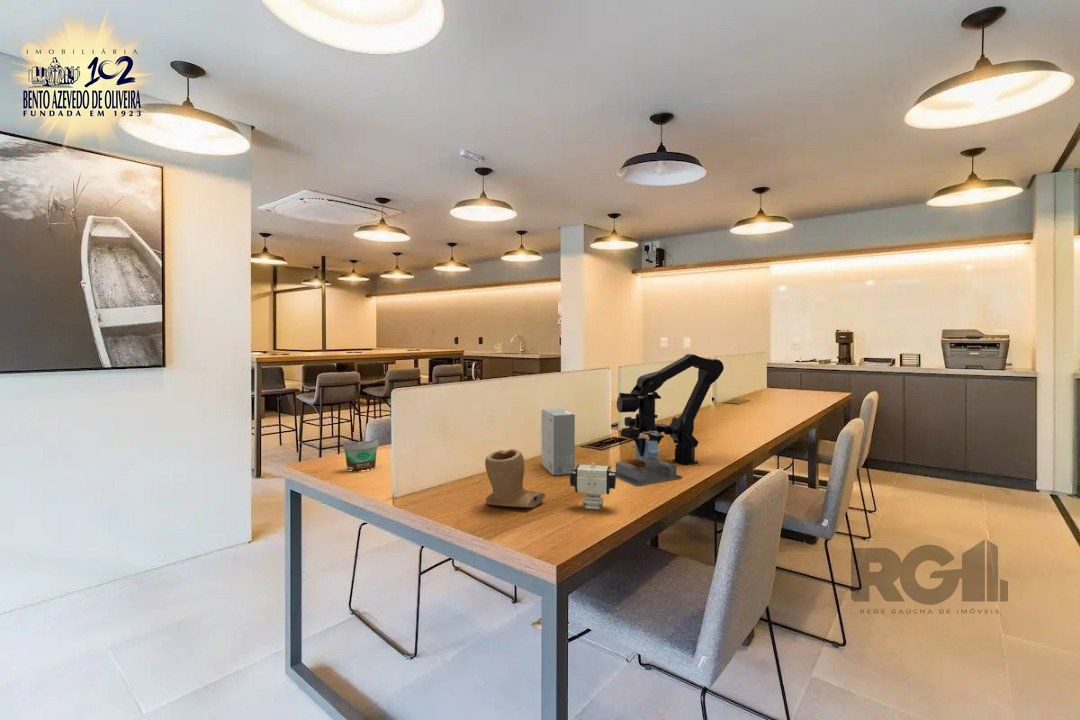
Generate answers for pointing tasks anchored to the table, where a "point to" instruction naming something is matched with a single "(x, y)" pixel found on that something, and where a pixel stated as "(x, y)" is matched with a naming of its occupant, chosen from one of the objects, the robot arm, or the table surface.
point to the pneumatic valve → (593, 483)
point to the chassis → (647, 472)
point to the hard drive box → (558, 441)
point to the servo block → (648, 450)
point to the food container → (361, 455)
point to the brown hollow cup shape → (509, 480)
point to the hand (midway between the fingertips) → (646, 455)
